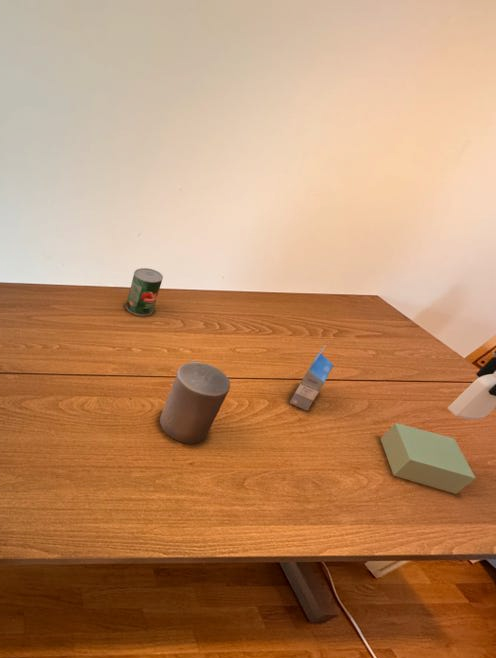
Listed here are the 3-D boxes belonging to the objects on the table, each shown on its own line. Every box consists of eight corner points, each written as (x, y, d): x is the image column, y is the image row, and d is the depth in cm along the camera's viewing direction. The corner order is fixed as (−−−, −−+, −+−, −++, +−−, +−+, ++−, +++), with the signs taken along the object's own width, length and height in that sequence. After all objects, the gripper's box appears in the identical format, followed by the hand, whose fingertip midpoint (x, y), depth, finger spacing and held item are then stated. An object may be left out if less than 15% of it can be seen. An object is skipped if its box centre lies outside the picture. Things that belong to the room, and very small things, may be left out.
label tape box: (306, 411, 93) (336, 369, 85) (287, 402, 95) (314, 360, 87) (316, 392, 98) (345, 351, 90) (298, 384, 100) (324, 343, 92)
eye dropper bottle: (488, 427, 72) (547, 375, 65) (448, 415, 74) (501, 363, 67) (480, 411, 75) (536, 359, 68) (442, 400, 77) (492, 348, 70)
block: (437, 454, 85) (454, 438, 82) (456, 494, 78) (476, 478, 75) (380, 438, 88) (395, 422, 85) (393, 475, 81) (410, 459, 77)
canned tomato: (147, 318, 119) (157, 284, 112) (121, 309, 122) (129, 275, 115) (156, 307, 125) (166, 273, 118) (131, 298, 128) (140, 265, 121)
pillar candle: (215, 442, 85) (244, 388, 76) (171, 446, 84) (194, 392, 74) (192, 407, 92) (216, 354, 83) (151, 411, 91) (170, 357, 81)
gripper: (673, 329, 52) (548, 428, 64) (590, 272, 64) (498, 364, 76) (595, 314, 54) (487, 413, 66) (529, 262, 66) (448, 353, 78)
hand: (494, 386), depth 71 cm, fingers closed on eye dropper bottle, 4 cm apart
